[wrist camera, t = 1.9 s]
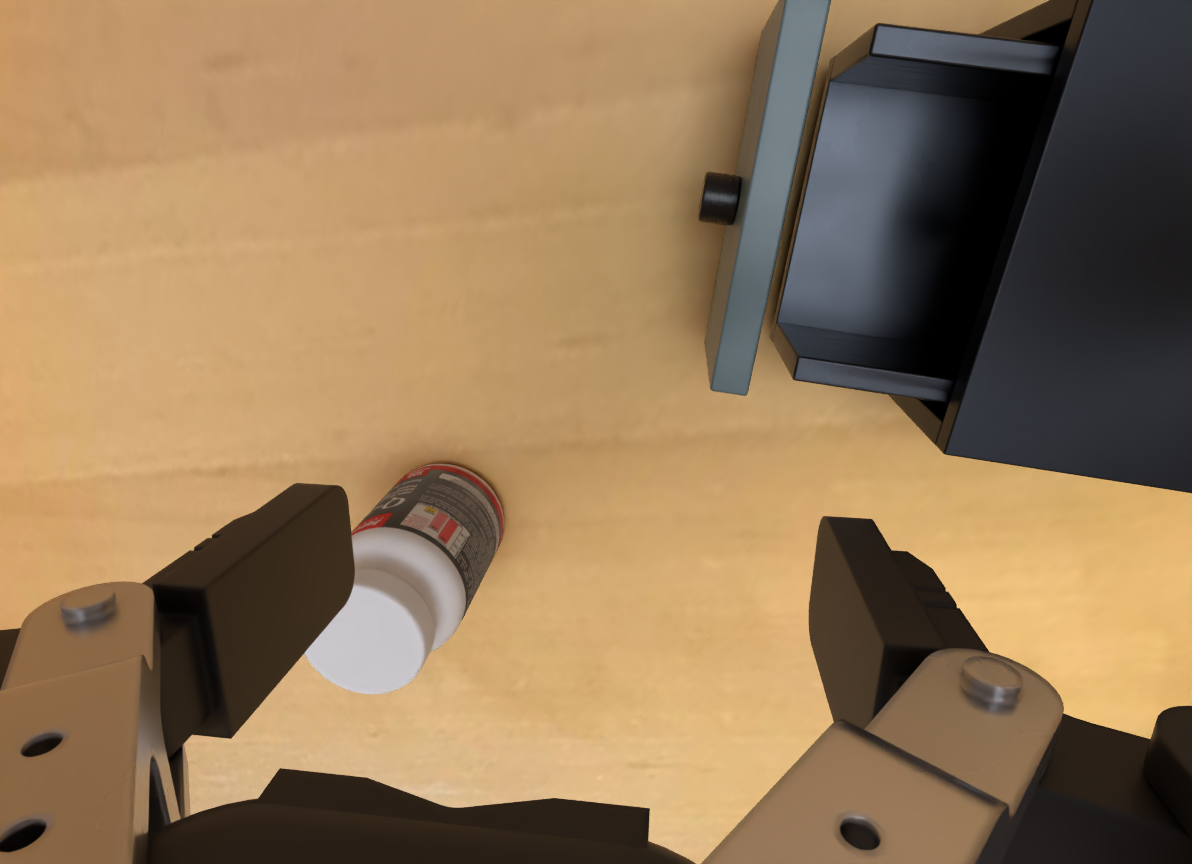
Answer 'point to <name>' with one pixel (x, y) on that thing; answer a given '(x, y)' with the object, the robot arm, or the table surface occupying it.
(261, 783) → the table surface
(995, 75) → the drawer
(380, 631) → the pill bottle
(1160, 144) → the cabinet
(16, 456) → the table surface
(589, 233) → the table surface
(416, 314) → the table surface
